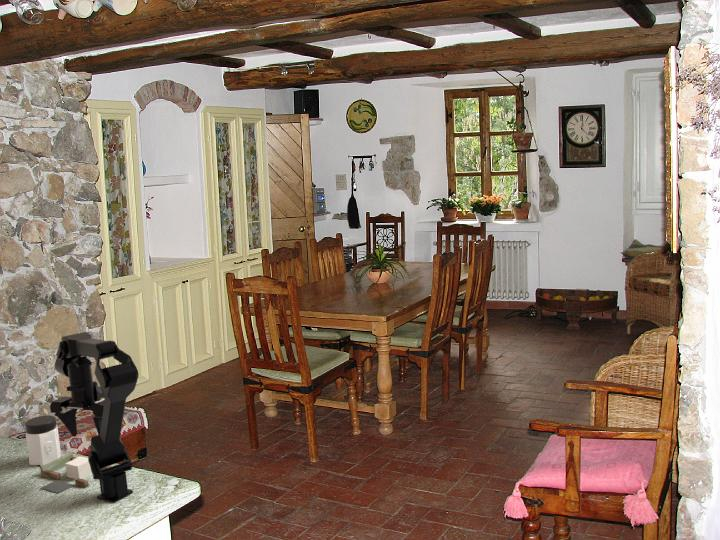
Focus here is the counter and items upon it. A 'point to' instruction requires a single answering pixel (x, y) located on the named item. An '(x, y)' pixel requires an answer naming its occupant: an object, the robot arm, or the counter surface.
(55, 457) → the jar
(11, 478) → the counter surface
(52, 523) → the counter surface
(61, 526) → the counter surface
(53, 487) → the mat
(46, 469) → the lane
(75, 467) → the block
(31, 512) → the counter surface
